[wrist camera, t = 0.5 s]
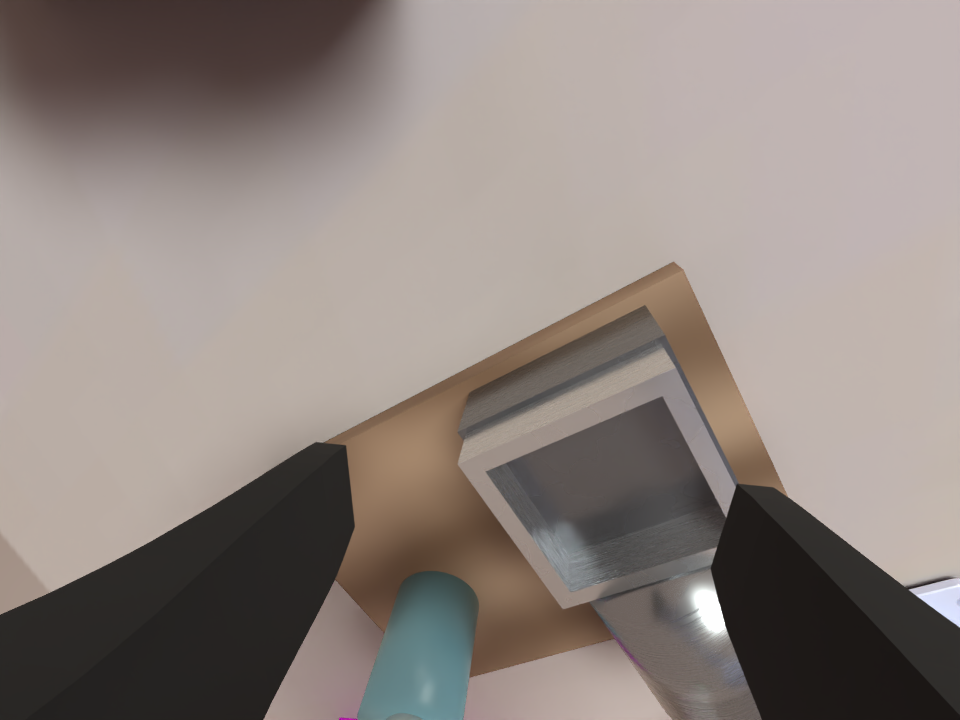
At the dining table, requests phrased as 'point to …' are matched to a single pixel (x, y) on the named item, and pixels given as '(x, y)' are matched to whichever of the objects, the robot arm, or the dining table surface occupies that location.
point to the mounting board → (464, 514)
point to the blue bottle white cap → (424, 652)
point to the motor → (617, 502)
